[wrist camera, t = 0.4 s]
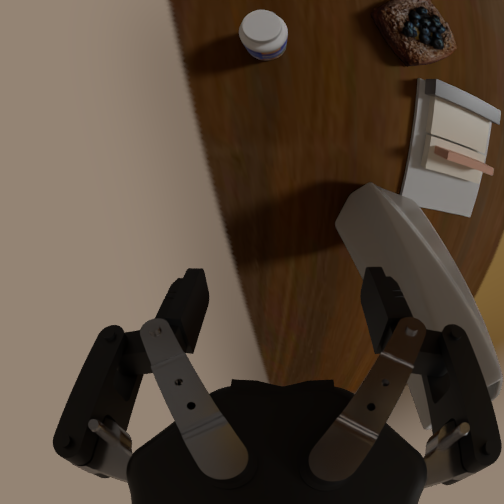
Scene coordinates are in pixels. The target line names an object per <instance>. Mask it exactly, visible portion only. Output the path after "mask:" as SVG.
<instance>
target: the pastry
mask: <svg viewBox="0 0 504 504" xmlns="http://www.w3.org/2000/svg"><path fill="white" fill-rule="evenodd" d="M373 10H374V12H373V13H371V16H372V18H373V20H374V22H375V24H376V25H377V27H378V29H379V30H380V32H381V34H382V36H383V37H384V39H385V40H386V42H387V43H388V44H389V45H390V47H391V48H392V50H393V51H394V53H395V54H396V55H397V56H398V57H399V59H401V60H402V61H403V63H404V64H405V65H406V66H407V67H408V66H416V65H426V64H431V63H434V62H437V61H439V60H441V59H444V58H446V57H447V56H449V55H451V54H452V53H453V52H454V51H455V50H456V49H457V45H456V42H455V40H454V36H453V34H452V32H451V29H450V28H449V26H448V23H447V22H445V21H444V19H443V18H442V16H441V14H440V13H439V11H438V10H437V9H436V8H435V6H434V5H433V4H432V3H431V1H430V0H391V1H389V2H387V3H385V4H383V5H382V6H380V7H378V8H373Z"/></svg>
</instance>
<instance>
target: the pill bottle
mask: <svg viewBox="0 0 504 504" xmlns="http://www.w3.org/2000/svg"><path fill="white" fill-rule="evenodd" d="M287 36H288V30H287V26H286V24H285V23H284V21H283V20H282V19H281V18H280V17H278V16H277V15H275V14H274V13H272V12H270V11H267V10H257V11H253V12H251V13H249V14H248V15H247V16H246V17H245V18H244V20H243V22H242V23H241V25H240V28H239V37H240V39H241V41H242V43H243V45H244V46H245V48H246V49H247V51H248V52H249V53H250V54H251V55H252V56H253V57H255V58H257V59H259V60H273V59H276V58H278V57H279V56H281V55H282V54H283V52H284V51H285V48H286V44H287Z"/></svg>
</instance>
